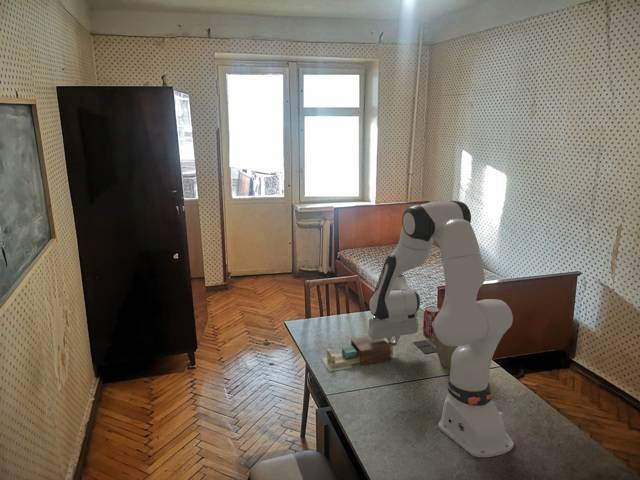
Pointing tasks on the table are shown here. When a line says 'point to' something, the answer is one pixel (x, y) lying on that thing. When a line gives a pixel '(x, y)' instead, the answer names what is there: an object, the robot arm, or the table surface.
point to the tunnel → (371, 350)
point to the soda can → (429, 320)
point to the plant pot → (443, 351)
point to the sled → (347, 356)
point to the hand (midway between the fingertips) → (392, 345)
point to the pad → (334, 367)
